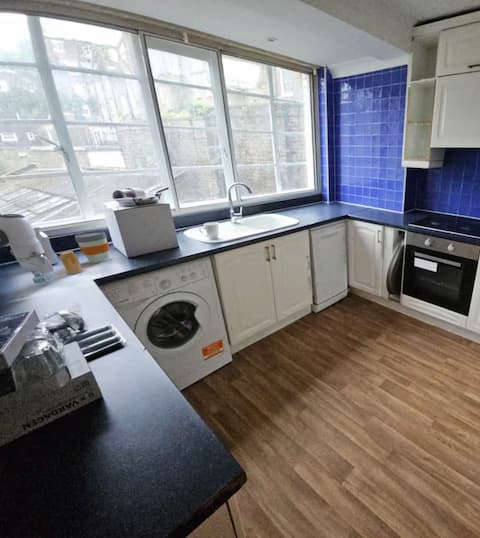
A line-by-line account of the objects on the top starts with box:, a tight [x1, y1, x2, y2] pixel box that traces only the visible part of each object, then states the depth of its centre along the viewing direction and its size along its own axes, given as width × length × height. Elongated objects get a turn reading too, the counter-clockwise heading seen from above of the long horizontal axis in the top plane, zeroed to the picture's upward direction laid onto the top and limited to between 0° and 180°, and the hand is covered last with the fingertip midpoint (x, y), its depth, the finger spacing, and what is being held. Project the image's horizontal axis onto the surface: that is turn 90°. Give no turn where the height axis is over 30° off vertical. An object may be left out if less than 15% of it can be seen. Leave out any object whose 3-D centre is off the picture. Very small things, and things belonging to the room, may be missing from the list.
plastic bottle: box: [33, 226, 60, 266], centre depth 154 cm, size 6×7×20 cm
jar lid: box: [32, 273, 54, 284], centre depth 133 cm, size 6×6×2 cm
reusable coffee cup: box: [74, 230, 111, 264], centre depth 159 cm, size 12×13×15 cm
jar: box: [59, 250, 84, 276], centre depth 145 cm, size 6×6×10 cm
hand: (43, 279), depth 134 cm, fingers closed on jar lid, 6 cm apart
